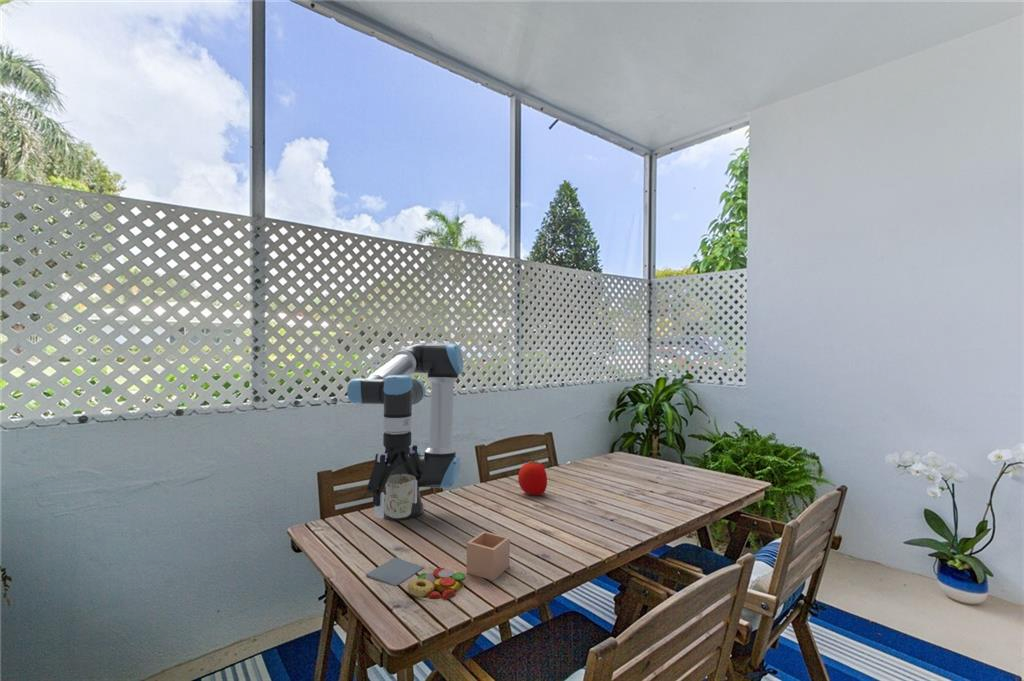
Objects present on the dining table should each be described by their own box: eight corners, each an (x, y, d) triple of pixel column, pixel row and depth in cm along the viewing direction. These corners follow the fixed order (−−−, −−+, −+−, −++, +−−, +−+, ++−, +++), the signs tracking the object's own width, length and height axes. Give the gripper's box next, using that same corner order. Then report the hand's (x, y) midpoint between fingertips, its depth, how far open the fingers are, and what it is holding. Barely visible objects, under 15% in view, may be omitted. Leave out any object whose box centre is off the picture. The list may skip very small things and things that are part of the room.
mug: (419, 510, 127) (420, 475, 127) (400, 527, 115) (400, 489, 115) (392, 507, 129) (393, 473, 129) (370, 524, 117) (371, 486, 117)
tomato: (552, 493, 188) (552, 460, 188) (539, 501, 178) (539, 466, 178) (526, 488, 194) (527, 455, 195) (512, 495, 185) (513, 461, 185)
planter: (466, 575, 121) (466, 542, 121) (483, 562, 128) (484, 531, 128) (493, 584, 116) (493, 550, 117) (509, 570, 124) (509, 537, 124)
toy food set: (401, 599, 110) (401, 585, 110) (429, 573, 122) (429, 561, 122) (448, 611, 105) (448, 597, 105) (472, 583, 117) (473, 571, 117)
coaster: (365, 576, 120) (365, 574, 120) (395, 559, 129) (395, 557, 129) (395, 587, 114) (396, 585, 114) (424, 569, 124) (424, 567, 124)
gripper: (373, 441, 110) (372, 528, 109) (436, 425, 131) (435, 498, 131) (352, 437, 113) (351, 522, 113) (416, 423, 134) (416, 494, 134)
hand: (396, 509), depth 122 cm, fingers closed on mug, 12 cm apart
